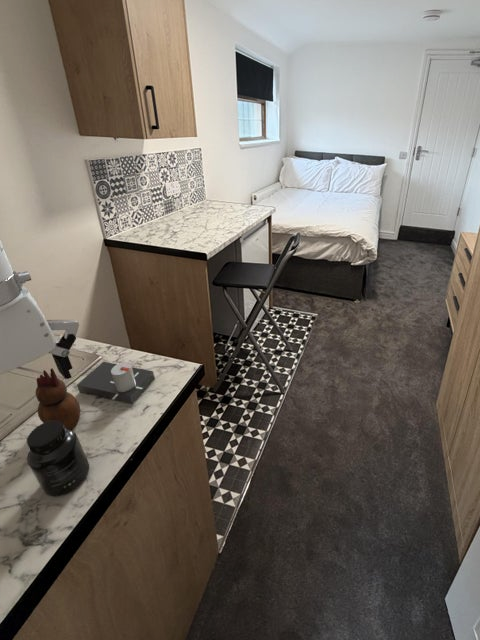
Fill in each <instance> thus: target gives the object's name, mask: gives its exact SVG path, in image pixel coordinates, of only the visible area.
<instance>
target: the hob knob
mask: <svg viewBox="0 0 480 640" xmlns="http://www.w3.org/2000/svg"><path fill="white" fill-rule="evenodd" d="M116 364H117V365H115V366H114V367H113V368H112V370H111V374H112V377H113V380H114V383H115V386H116V389H117V391H119V392H126V391H129V390H131V389H132V388H133V387H134V386H135V384H136V381H135V377H134V373H133V370H132V367H133V366H132V364H131V363H130V362H127V361H125V362H124V361H123V362H119V363H116Z"/></svg>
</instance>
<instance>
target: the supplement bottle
mask: <svg viewBox="0 0 480 640" xmlns="http://www.w3.org/2000/svg"><path fill="white" fill-rule="evenodd" d="M26 444H27V446H28V449H29V450H28V452H27V455H26V463H27V464H28V466H29V468H30V470H31V472H32V473H33V475H34V477H35V479H36V481H37V482H38V484H39V485H40V488H41V489H42V491H43V492H44V493H45V494H46V495H47V496H48V497H52V498H59V497H64V496H66V495H68V494H70V493H72V492H73V491H75V490H77V489H78V488H79V487H80V486H81V485H82V484H83V483H84V482H85V480H86V479H87V477H88V475H89V472H90V463H89V461H88V457H87V456H86V454H85V451H84V448H83V446H82V444H81V442H80V439H79V438H78V435H77V433H76V432H75V431H73V430H72V429H70V430H69V429H66V428H65V427H64V425H63V423H62V422H60V421H57V420H53V421H48V422H45V423H43V422H42V423H41V424H39V425H37V426H36V427H35V428H34V429H32V430H31V431H30V433H29V434H28V435H27V438H26Z"/></svg>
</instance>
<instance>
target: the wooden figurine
mask: <svg viewBox="0 0 480 640" xmlns="http://www.w3.org/2000/svg"><path fill="white" fill-rule="evenodd" d="M42 373H43V374H40V375H39V376H38V377H37V378H36V386H37V387H36V389H35V397H36V400H37V401H38V406H37V415H38V418H39V420H40V421H41V422H42V424H43V423H45V422H48V421H53V420H57V421H60V422H62V423H63V425H64V427H65V428H66V429H69V430H72V429H73V428H75V427H76V426H77V424H78V422H79V421H80V416H81V406H80V402H79V401H78V399H77V398H76V397H75V396H74V395H73V393H70V392H68V389H67V386H66V384H65V382H64V381H63V380H62V379H60V378H58V377H57V373H56V372H55V370H54V368H50V375H49V374H48V372H47V371H46V370H42Z"/></svg>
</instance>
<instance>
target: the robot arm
mask: <svg viewBox="0 0 480 640" xmlns="http://www.w3.org/2000/svg"><path fill="white" fill-rule="evenodd" d="M30 281H32V277H31V275H30V273H29V271H27V270H26V271H23V272H20V271H19V272H17V271H14V270H13V268H12V265H11V262H10V261H9V258H8V255H7V253H6V251H5V249H4V246H3V243H2V240H0V376H2V375H4V374H6V373H9V372H11V371H13V370H15V369H17V368H20V367H22V366H24V365H26V364H29V363H31V362H33V361H35V360H38V359H39V358H41V357H43V356H46V355H48V354H51V356H52V358H53V361H54V363H55V366H56V368H57V370H58V373H59V374H61V376H62V377H63V378H64V379H65V380H70V379H71V378H72V374H71V372H70V371H71V370H72V369H73V365H72V362H71V360H70V358H69V356H70V353H71V351H70V350H71V348H72V346H73V345H74V343H75V341H76V340H77V337H76V336H77V334H78V331H79V326H80V324H79V322H78V321H77V320H76V319H47V318H46V317H45V315H44V313H43V312H42V311H43V310H41V308H40V306H39V305H38V303H37V301H36V300H35V298H34V297H33V296H32V294H31V293H30V291H29V290H28V289H27V288H26V287H24V285H23V284H26V282H30ZM53 331H64V333H63V335H62V336H61V338H60V339H59V341H57V340H56V337H55V335H54V333H53Z"/></svg>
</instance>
